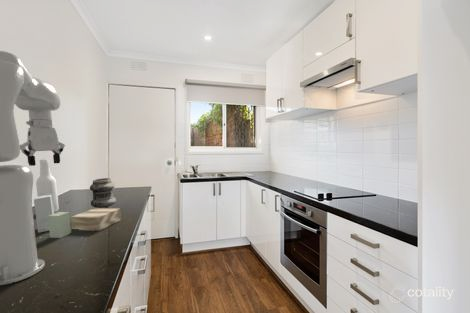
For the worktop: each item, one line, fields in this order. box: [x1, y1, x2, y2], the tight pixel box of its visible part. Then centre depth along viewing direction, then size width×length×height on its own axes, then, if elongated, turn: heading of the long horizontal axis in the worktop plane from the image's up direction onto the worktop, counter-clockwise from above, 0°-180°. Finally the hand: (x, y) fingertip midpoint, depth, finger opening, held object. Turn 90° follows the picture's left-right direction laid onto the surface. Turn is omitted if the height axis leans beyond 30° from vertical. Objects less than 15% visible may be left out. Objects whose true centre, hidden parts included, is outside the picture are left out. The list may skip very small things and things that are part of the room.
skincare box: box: [33, 195, 55, 233], centre depth 107 cm, size 8×6×15 cm
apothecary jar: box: [89, 177, 117, 208], centre depth 131 cm, size 12×12×18 cm
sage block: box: [48, 211, 72, 239], centre depth 99 cm, size 5×5×9 cm
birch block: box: [70, 207, 122, 232], centre depth 111 cm, size 14×14×6 cm
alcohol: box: [35, 158, 60, 214], centre depth 134 cm, size 9×9×30 cm
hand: (45, 164), depth 104 cm, fingers open, 9 cm apart
